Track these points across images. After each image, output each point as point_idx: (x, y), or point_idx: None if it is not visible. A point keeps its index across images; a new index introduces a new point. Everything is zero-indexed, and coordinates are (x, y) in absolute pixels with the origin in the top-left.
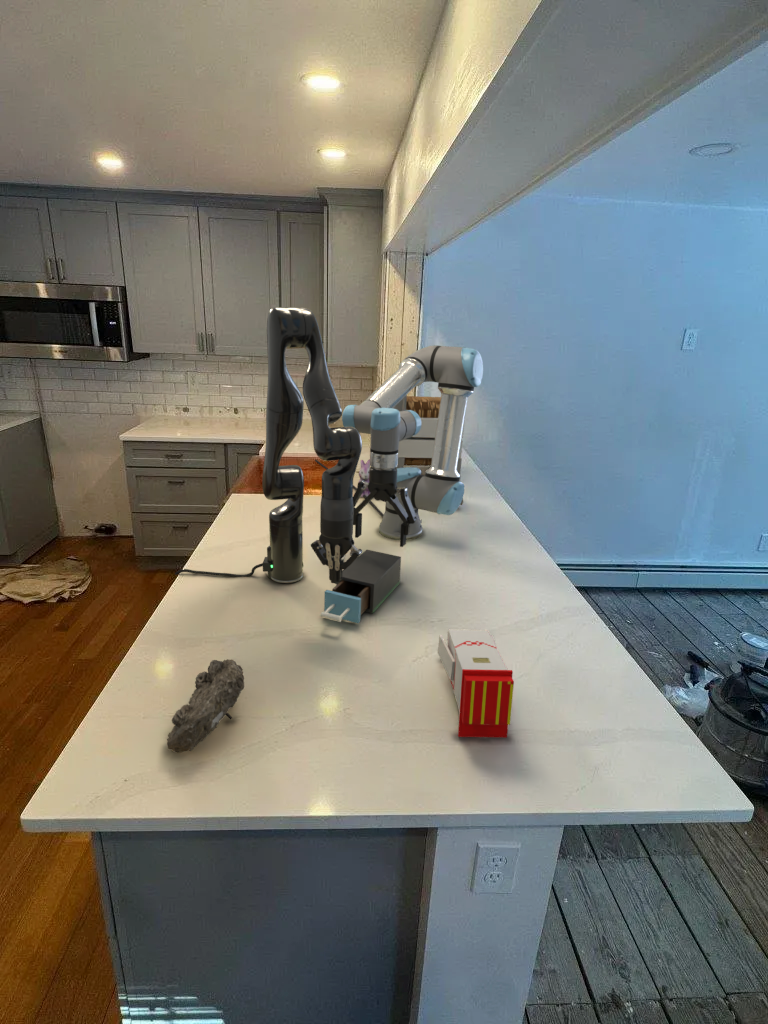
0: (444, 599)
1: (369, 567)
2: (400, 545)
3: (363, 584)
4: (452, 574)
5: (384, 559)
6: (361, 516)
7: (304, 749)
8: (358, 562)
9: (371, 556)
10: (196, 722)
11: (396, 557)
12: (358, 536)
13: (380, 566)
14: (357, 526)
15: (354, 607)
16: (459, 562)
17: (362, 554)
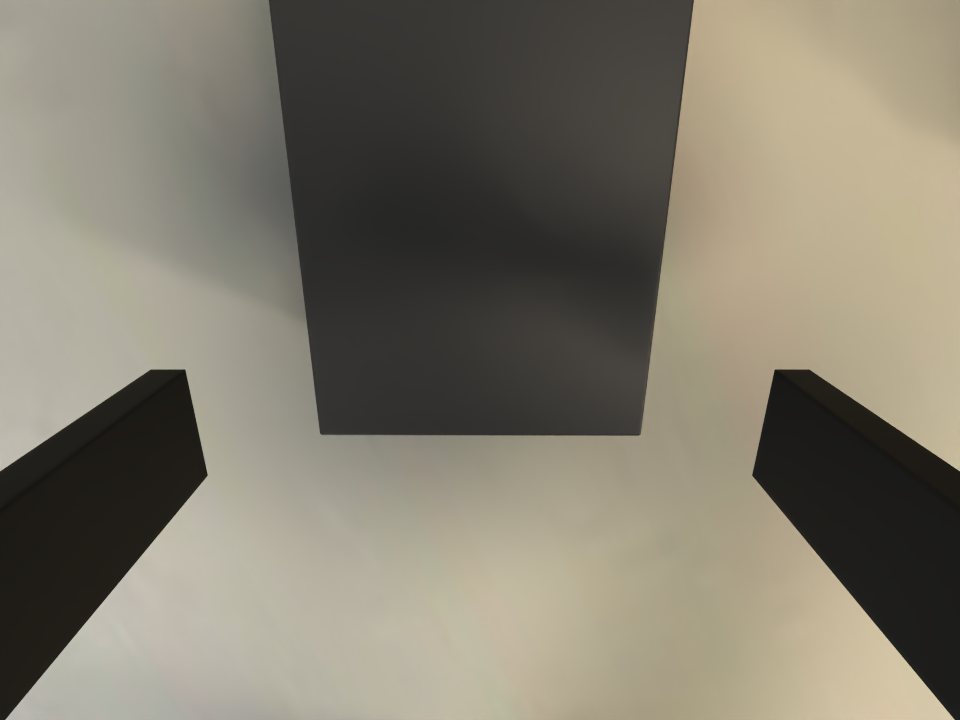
0: (46, 283)
1: (469, 76)
2: (169, 375)
3: None
4: (171, 564)
5: (418, 321)
6: (949, 685)
7: None
8: (615, 138)
9: (549, 324)
10: None
11: (345, 404)
12: (772, 404)
13: (382, 157)
14: (888, 450)
15: None
16: (209, 683)
17: (641, 327)
